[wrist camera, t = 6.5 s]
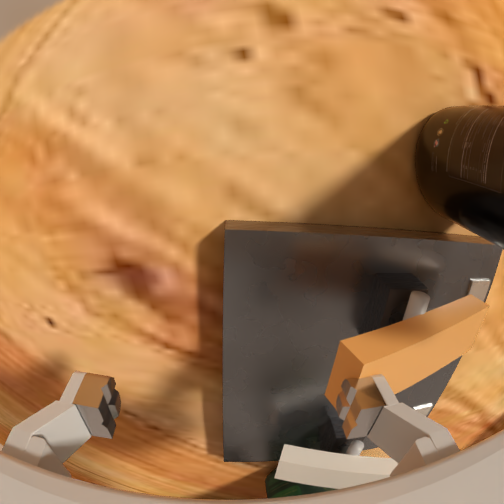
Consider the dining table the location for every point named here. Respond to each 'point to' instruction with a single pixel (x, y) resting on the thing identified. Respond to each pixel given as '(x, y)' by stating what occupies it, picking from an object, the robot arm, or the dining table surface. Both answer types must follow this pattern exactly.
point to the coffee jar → (289, 487)
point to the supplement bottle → (465, 168)
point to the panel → (324, 321)
